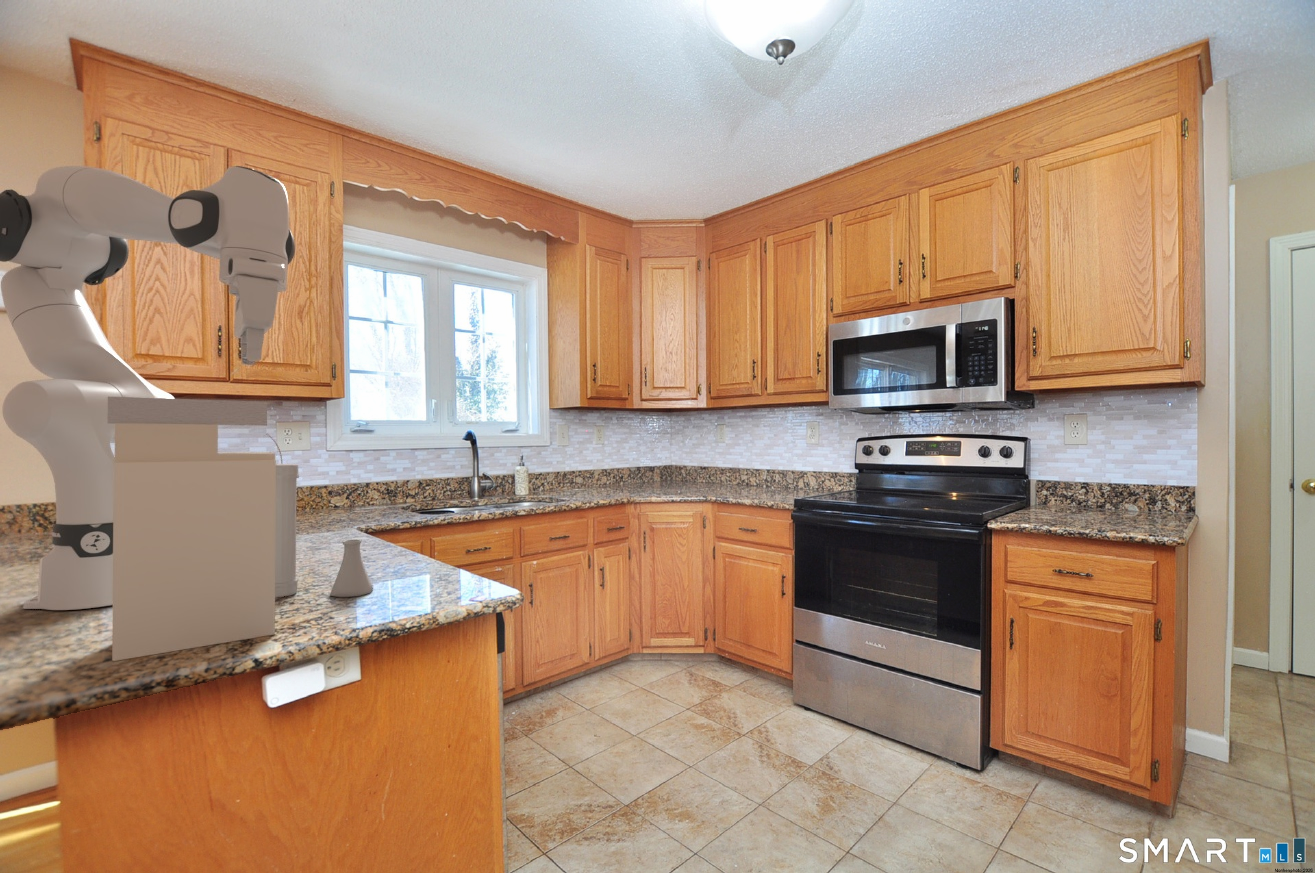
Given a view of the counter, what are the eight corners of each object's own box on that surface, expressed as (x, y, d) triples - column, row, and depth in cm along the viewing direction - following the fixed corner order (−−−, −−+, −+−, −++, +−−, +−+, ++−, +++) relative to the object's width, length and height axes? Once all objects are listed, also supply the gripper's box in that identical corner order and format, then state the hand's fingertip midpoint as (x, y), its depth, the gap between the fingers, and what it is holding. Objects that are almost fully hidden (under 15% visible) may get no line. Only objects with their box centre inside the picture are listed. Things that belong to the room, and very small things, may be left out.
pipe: (281, 599, 109) (282, 433, 109) (252, 596, 110) (253, 433, 110) (305, 591, 114) (306, 433, 114) (277, 589, 115) (278, 433, 115)
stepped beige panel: (119, 640, 86) (121, 424, 86) (268, 617, 97) (269, 426, 97) (112, 661, 78) (114, 423, 78) (274, 634, 89) (276, 425, 89)
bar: (110, 423, 83) (110, 397, 83) (264, 425, 94) (265, 402, 94) (107, 423, 80) (107, 396, 80) (267, 425, 91) (267, 402, 91)
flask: (361, 598, 109) (361, 544, 109) (321, 598, 109) (322, 543, 109) (380, 588, 117) (380, 537, 117) (343, 588, 117) (343, 537, 117)
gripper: (225, 282, 100) (222, 365, 100) (233, 257, 84) (230, 355, 84) (270, 289, 104) (267, 368, 104) (286, 266, 88) (282, 360, 88)
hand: (250, 363), depth 94 cm, fingers open, 8 cm apart
